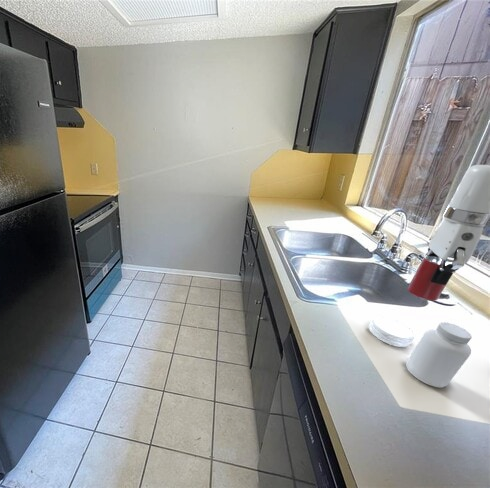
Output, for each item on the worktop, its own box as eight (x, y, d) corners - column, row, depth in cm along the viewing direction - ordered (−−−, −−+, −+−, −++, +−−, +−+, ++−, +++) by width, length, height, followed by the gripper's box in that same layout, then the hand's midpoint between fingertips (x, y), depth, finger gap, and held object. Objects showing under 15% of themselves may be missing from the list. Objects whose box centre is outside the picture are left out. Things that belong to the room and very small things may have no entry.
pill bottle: (437, 393, 61) (471, 346, 55) (398, 367, 68) (424, 322, 61) (453, 382, 64) (487, 336, 58) (415, 358, 71) (441, 314, 64)
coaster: (415, 352, 72) (421, 343, 71) (373, 341, 76) (378, 332, 74) (401, 329, 81) (406, 320, 80) (364, 320, 84) (368, 311, 83)
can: (431, 291, 76) (450, 259, 72) (441, 304, 71) (462, 269, 66) (403, 285, 79) (420, 253, 74) (411, 296, 73) (429, 263, 69)
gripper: (509, 229, 56) (466, 297, 64) (466, 210, 71) (435, 267, 78) (464, 223, 59) (427, 288, 66) (431, 205, 73) (404, 260, 81)
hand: (431, 276), depth 72 cm, fingers closed on can, 6 cm apart
